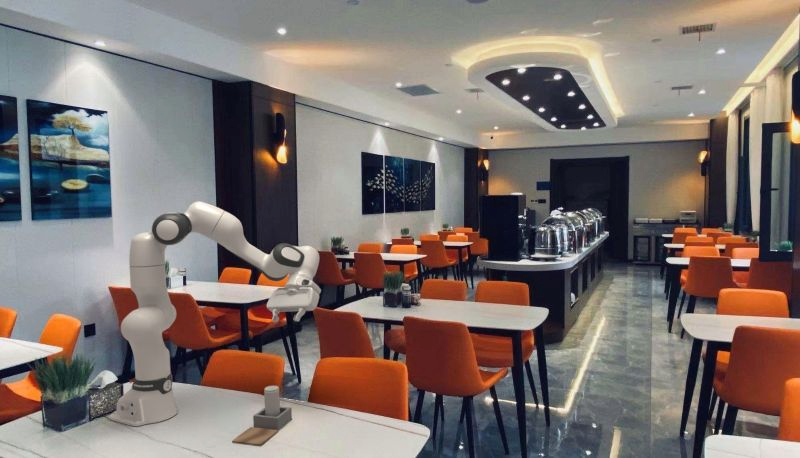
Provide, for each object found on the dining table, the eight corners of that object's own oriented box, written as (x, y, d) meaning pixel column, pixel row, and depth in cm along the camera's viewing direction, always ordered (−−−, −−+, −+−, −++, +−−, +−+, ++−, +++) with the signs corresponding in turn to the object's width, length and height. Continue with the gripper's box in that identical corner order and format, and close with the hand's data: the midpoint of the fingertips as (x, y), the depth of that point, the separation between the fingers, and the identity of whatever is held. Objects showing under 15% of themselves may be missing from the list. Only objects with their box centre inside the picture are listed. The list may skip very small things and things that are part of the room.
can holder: (253, 427, 174) (253, 415, 173) (268, 416, 182) (267, 405, 182) (278, 430, 171) (277, 418, 171) (291, 419, 180) (291, 407, 179)
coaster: (232, 442, 163) (232, 440, 163) (250, 428, 173) (250, 427, 173) (260, 446, 160) (260, 444, 160) (278, 432, 170) (277, 430, 170)
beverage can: (276, 427, 174) (275, 390, 173) (263, 426, 175) (261, 390, 174) (282, 420, 178) (281, 385, 178) (269, 420, 179) (268, 385, 179)
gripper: (270, 283, 196) (257, 317, 188) (315, 280, 186) (303, 315, 178) (280, 292, 200) (267, 325, 192) (325, 290, 190) (313, 324, 183)
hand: (285, 321), depth 185 cm, fingers open, 8 cm apart
